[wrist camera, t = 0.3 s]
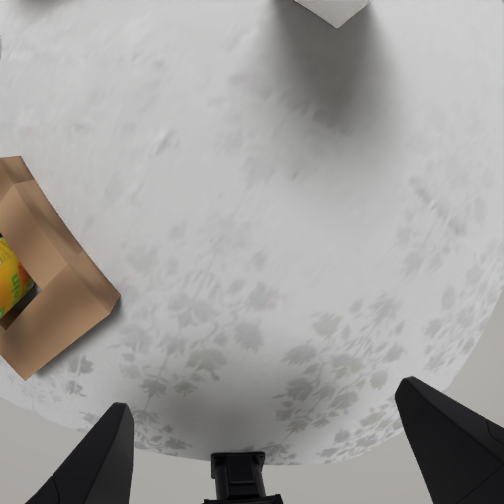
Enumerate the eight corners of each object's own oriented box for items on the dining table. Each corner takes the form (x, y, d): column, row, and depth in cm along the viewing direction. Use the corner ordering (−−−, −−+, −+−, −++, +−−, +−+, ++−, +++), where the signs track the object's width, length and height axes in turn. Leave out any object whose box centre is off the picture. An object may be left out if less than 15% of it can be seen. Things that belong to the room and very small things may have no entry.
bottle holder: (120, 294, 21) (109, 313, 19) (36, 362, 22) (25, 380, 20) (20, 155, 17) (-2, 158, 14) (-44, 256, 18) (-62, 267, 15)
